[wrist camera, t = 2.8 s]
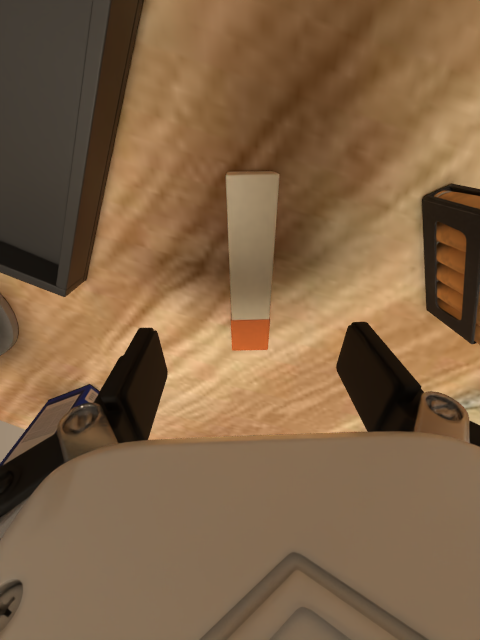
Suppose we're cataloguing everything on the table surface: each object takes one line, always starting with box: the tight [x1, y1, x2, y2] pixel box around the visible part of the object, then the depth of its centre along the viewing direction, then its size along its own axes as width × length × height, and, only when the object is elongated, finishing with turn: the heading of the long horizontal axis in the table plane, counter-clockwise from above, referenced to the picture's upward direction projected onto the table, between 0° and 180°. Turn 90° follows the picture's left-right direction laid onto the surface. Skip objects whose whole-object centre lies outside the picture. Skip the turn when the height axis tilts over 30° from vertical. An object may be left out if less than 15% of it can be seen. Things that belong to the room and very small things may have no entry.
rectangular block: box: [226, 171, 280, 350], centre depth 18 cm, size 13×3×3 cm, turn 1°
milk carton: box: [0, 385, 99, 467], centre depth 21 cm, size 7×7×20 cm
